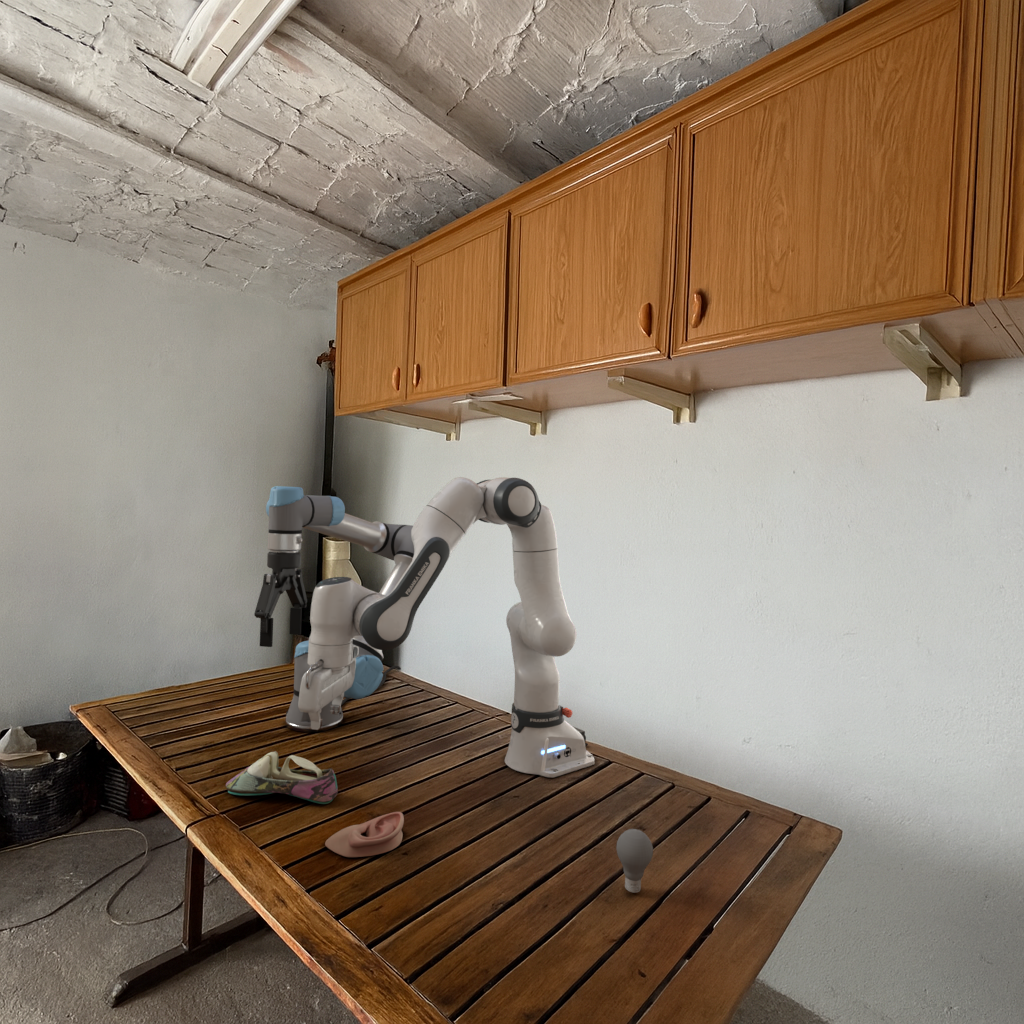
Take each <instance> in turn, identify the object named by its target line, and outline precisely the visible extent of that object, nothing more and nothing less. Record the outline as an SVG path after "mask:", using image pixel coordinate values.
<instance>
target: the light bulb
mask: <svg viewBox="0 0 1024 1024" xmlns="http://www.w3.org/2000/svg"><path fill="white" fill-rule="evenodd" d="M615 849H616V854H617V857H618V859H619V861H620V863H621V865H622V867H623V873H624V874H623V875H624V876H625V878H624V888H625V890H627V891H628V892H630V893H634V894H635V893H639V892H640V891H641V889H642V887H641V886H642V879H643V877H644V875H645V871H646V868H647V867H648V866H649V864H650V863H651V861H652V859H653V855H654V847H653V843H652V841H651V838H649V836H648V835H647V834H646V833H645V832H643V831H642V830H641V829H636V828H629V829H627V830H625V831H623V832H622V833H621V834H620V835H619V837H618V839H617V841H616V847H615Z"/></svg>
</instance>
